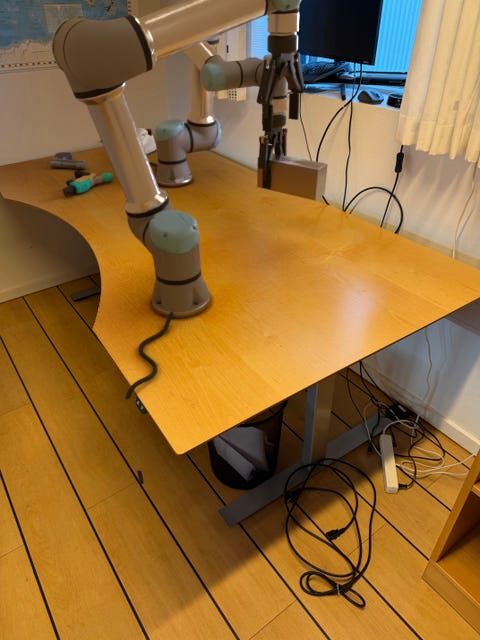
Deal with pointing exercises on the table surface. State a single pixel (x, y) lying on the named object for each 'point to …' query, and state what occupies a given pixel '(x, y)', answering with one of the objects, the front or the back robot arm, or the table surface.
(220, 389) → the table surface
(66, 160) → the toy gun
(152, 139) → the sneaker
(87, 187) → the toy gun
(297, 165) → the box
